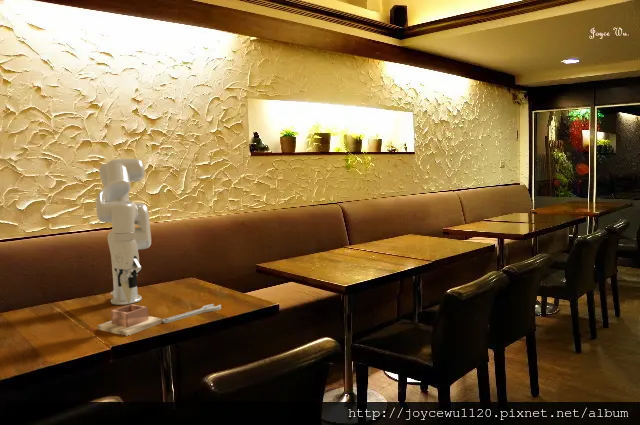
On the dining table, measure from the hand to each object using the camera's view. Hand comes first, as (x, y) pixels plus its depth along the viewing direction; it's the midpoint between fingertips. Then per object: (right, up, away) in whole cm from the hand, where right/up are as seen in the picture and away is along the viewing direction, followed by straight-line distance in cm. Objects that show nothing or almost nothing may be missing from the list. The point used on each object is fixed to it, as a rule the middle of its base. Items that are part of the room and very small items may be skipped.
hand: (127, 286), depth 186 cm
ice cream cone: (0, -7, +1) cm, 7 cm away
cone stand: (0, -15, +2) cm, 15 cm away
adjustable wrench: (+20, -14, +14) cm, 28 cm away
